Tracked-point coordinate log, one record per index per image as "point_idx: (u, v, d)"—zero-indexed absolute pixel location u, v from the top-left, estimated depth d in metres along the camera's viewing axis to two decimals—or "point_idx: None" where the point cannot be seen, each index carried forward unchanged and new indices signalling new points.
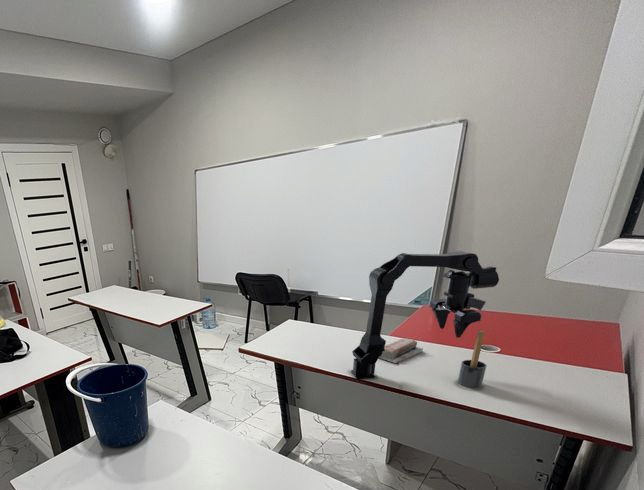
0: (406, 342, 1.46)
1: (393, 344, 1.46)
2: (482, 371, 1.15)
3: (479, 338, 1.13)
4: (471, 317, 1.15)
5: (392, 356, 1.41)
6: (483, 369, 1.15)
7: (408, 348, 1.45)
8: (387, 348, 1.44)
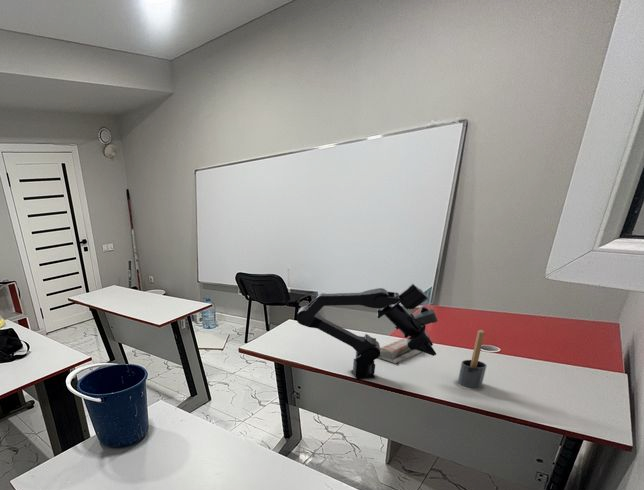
0: (406, 342, 1.46)
1: (393, 344, 1.46)
2: (482, 371, 1.15)
3: (479, 338, 1.13)
4: (416, 342, 1.15)
5: (392, 356, 1.41)
6: (483, 369, 1.15)
7: (408, 348, 1.45)
8: (387, 348, 1.44)
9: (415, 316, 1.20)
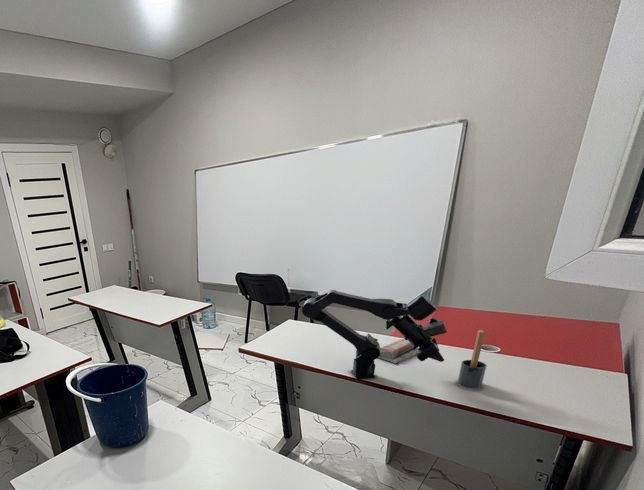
0: (406, 342, 1.46)
1: (393, 344, 1.46)
2: (482, 371, 1.15)
3: (479, 338, 1.13)
4: (426, 354, 1.15)
5: (392, 356, 1.41)
6: (483, 369, 1.15)
7: (408, 348, 1.45)
8: (387, 348, 1.44)
9: (424, 327, 1.20)
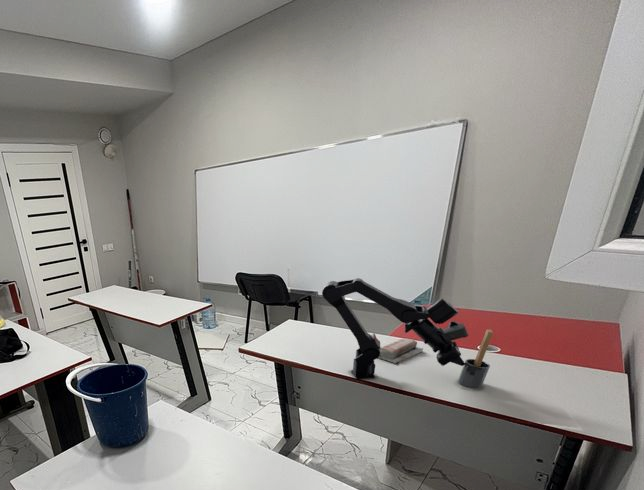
0: (406, 342, 1.46)
1: (393, 344, 1.46)
2: (485, 371, 1.15)
3: (487, 338, 1.12)
4: (447, 358, 1.12)
5: (392, 356, 1.41)
6: (486, 369, 1.15)
7: (408, 348, 1.45)
8: (387, 348, 1.44)
9: (444, 330, 1.18)
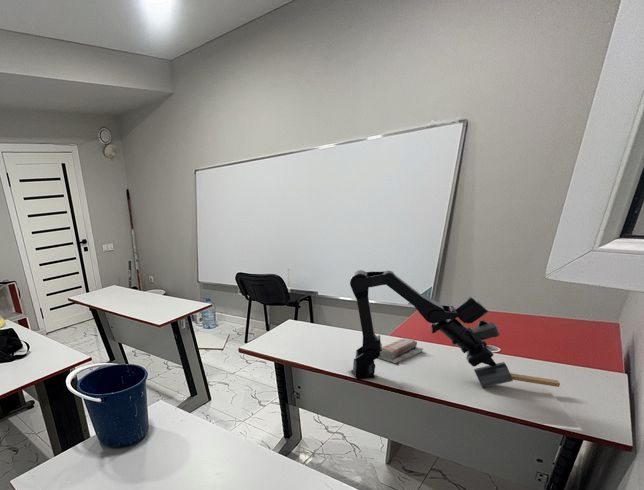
0: (406, 342, 1.46)
1: (393, 344, 1.46)
2: (508, 380, 1.13)
3: (550, 382, 1.10)
4: (478, 358, 1.09)
5: (392, 356, 1.41)
6: (510, 380, 1.13)
7: (408, 348, 1.45)
8: (387, 348, 1.44)
9: (473, 330, 1.14)
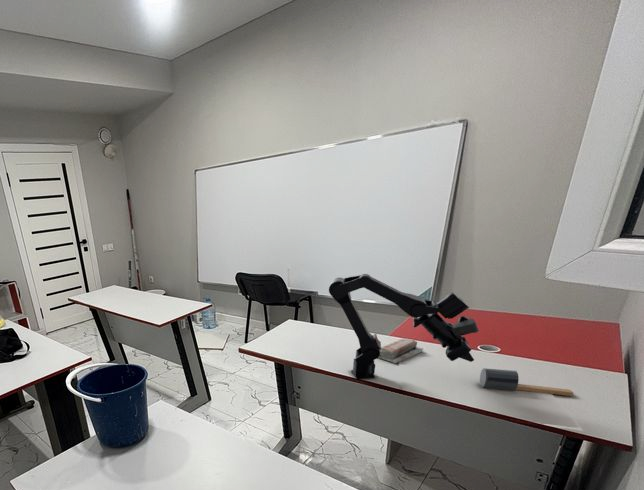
0: (406, 342, 1.46)
1: (393, 344, 1.46)
2: (511, 389, 1.14)
3: (564, 392, 1.09)
4: (457, 353, 1.11)
5: (392, 356, 1.41)
6: (512, 389, 1.14)
7: (408, 348, 1.45)
8: (387, 348, 1.44)
9: (454, 325, 1.16)
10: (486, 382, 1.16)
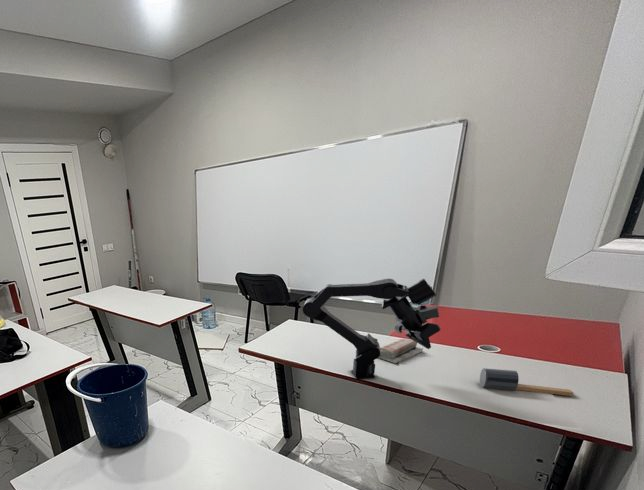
0: (406, 342, 1.46)
1: (393, 344, 1.46)
2: (511, 389, 1.14)
3: (564, 392, 1.09)
4: (429, 332, 1.13)
5: (392, 356, 1.41)
6: (512, 389, 1.14)
7: (408, 348, 1.45)
8: (387, 348, 1.44)
9: None
10: (486, 382, 1.16)
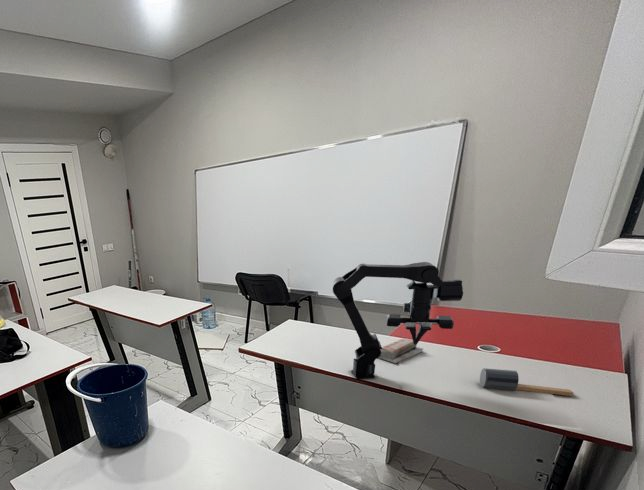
0: (406, 342, 1.46)
1: (393, 344, 1.46)
2: (511, 389, 1.14)
3: (564, 392, 1.09)
4: None
5: (392, 356, 1.41)
6: (512, 389, 1.14)
7: (408, 348, 1.45)
8: (387, 348, 1.44)
9: None
10: (486, 382, 1.16)
